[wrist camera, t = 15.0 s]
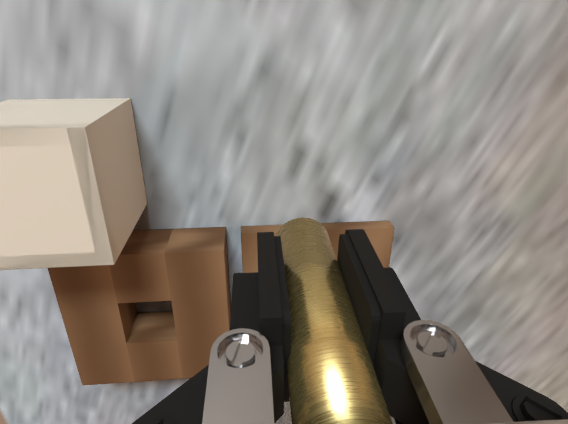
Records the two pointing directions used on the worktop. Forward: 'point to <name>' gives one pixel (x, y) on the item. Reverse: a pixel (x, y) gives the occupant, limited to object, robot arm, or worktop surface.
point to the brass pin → (325, 336)
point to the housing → (67, 182)
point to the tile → (375, 230)
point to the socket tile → (147, 288)
